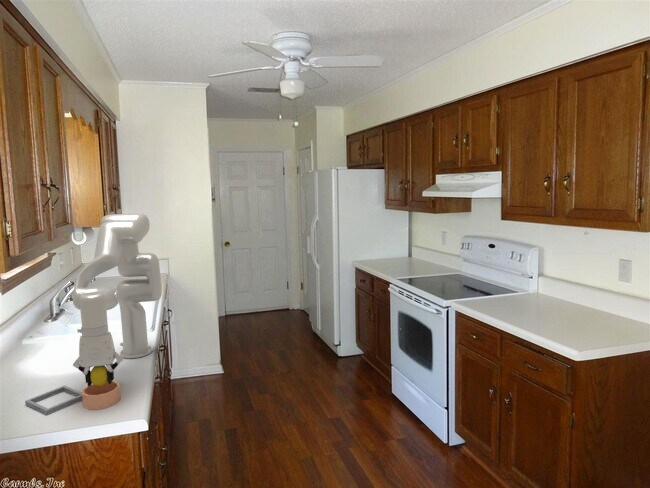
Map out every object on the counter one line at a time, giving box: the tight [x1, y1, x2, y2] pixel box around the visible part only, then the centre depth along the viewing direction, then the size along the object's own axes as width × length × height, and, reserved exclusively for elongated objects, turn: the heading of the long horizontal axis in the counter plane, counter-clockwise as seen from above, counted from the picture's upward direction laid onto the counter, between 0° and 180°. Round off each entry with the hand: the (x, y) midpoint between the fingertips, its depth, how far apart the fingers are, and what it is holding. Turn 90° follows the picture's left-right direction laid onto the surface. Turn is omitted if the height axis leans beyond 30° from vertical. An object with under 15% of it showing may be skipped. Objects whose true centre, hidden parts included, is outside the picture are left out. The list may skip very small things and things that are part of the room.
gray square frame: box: [24, 385, 83, 416], centre depth 157 cm, size 13×13×2 cm
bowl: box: [81, 380, 122, 410], centre depth 157 cm, size 11×11×4 cm
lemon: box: [90, 365, 108, 387], centre depth 155 cm, size 6×6×8 cm
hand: (100, 382), depth 156 cm, fingers closed on lemon, 5 cm apart
